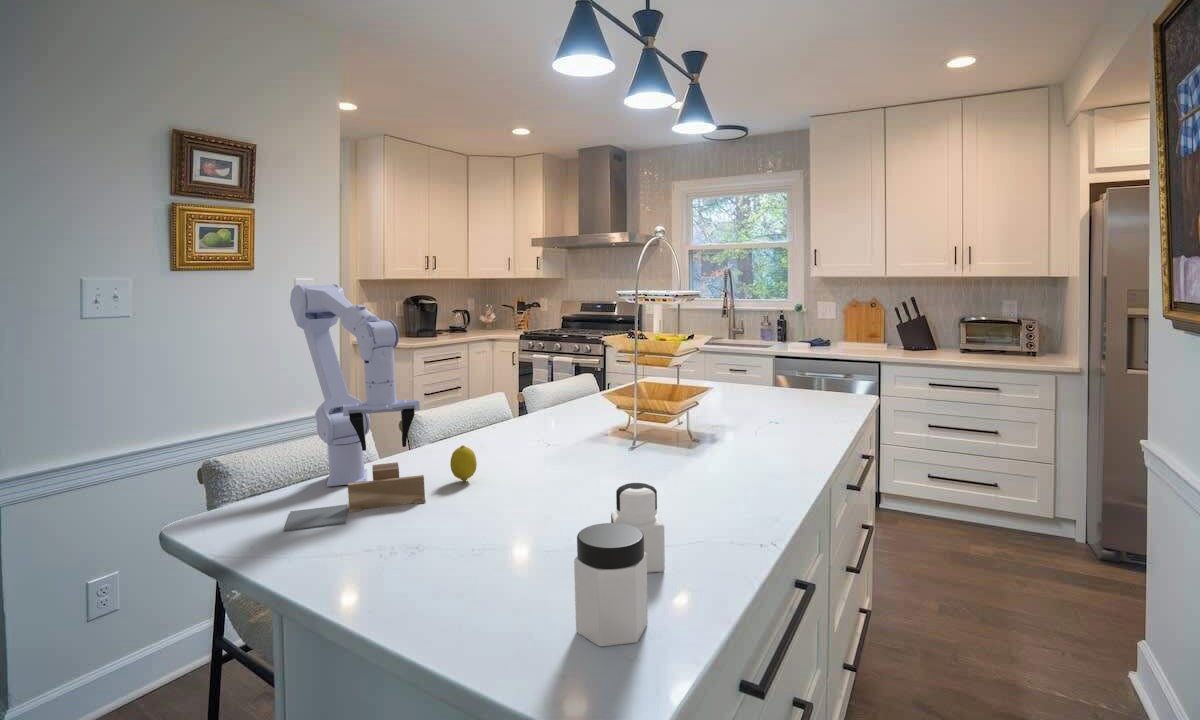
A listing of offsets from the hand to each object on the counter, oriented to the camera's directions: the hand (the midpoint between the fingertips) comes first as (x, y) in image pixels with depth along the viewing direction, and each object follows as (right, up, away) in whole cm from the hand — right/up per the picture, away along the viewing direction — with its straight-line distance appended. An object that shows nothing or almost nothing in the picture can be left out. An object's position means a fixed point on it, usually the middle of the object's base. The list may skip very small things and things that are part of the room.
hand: (384, 447), depth 131 cm
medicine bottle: (+49, -13, -33) cm, 61 cm away
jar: (+45, -15, -52) cm, 70 cm away
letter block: (0, -10, +1) cm, 10 cm away
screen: (+2, -11, -5) cm, 12 cm away
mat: (-9, -12, -11) cm, 18 cm away
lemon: (+14, -9, +9) cm, 19 cm away
